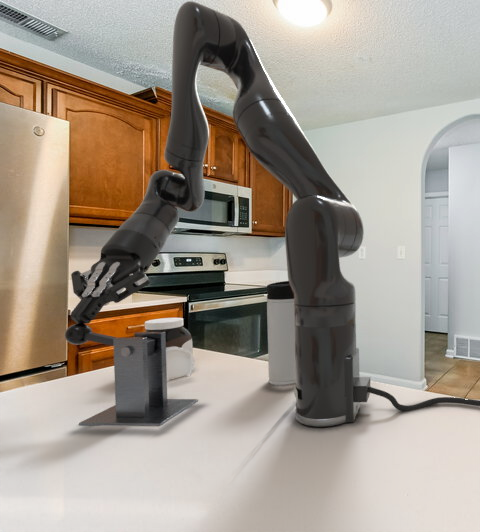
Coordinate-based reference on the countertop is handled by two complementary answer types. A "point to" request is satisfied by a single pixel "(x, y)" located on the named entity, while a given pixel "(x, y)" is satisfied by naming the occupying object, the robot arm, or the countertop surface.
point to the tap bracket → (140, 385)
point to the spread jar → (175, 346)
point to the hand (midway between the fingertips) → (79, 320)
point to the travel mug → (281, 334)
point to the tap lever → (96, 337)
